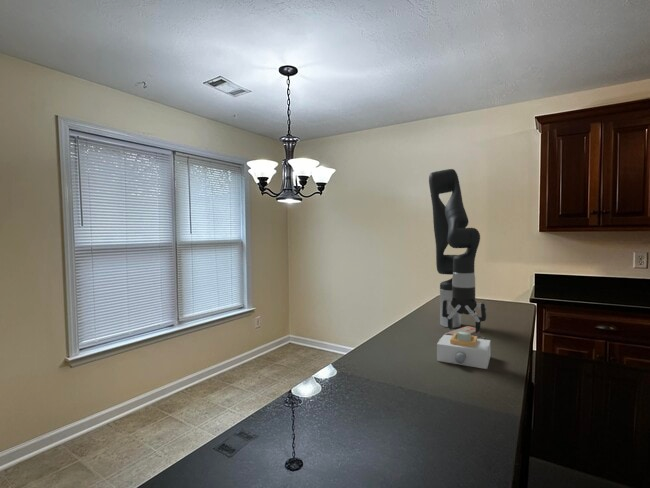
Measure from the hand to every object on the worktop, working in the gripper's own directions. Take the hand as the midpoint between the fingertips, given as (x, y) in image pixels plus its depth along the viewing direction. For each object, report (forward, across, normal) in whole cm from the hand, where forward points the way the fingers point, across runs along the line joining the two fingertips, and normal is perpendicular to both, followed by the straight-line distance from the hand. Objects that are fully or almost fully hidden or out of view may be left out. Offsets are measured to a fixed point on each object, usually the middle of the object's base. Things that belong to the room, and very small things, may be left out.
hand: (463, 330), depth 125 cm
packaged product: (+11, +4, -20) cm, 23 cm away
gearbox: (+10, 0, +2) cm, 10 cm away
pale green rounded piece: (+10, 0, 0) cm, 10 cm away
